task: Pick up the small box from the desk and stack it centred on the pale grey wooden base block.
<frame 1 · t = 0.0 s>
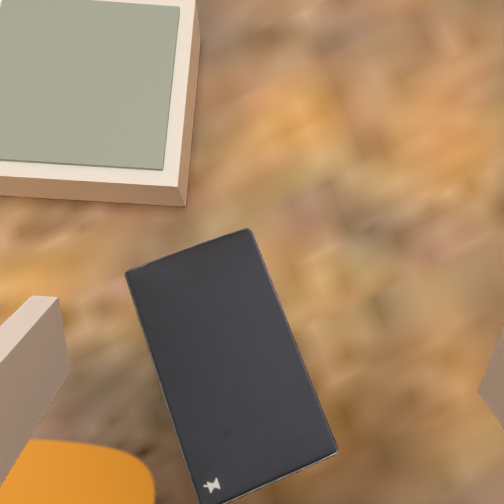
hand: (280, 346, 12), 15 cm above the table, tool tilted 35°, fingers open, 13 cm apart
base: (101, 113, 30), on the table
small box: (232, 350, 27), on the table
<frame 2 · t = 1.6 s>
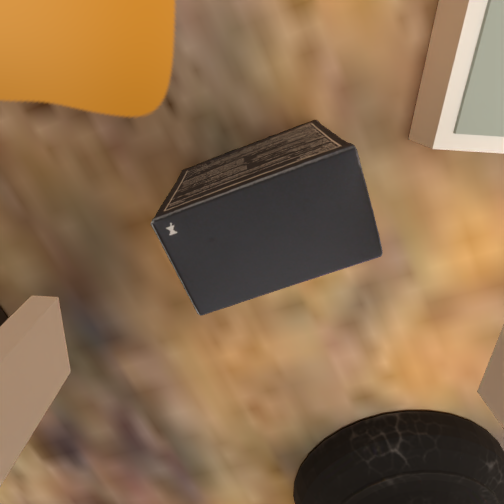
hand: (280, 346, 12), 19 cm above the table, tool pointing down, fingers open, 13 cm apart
small box: (262, 185, 29), on the table
banker's lamp: (397, 485, 43), on the table
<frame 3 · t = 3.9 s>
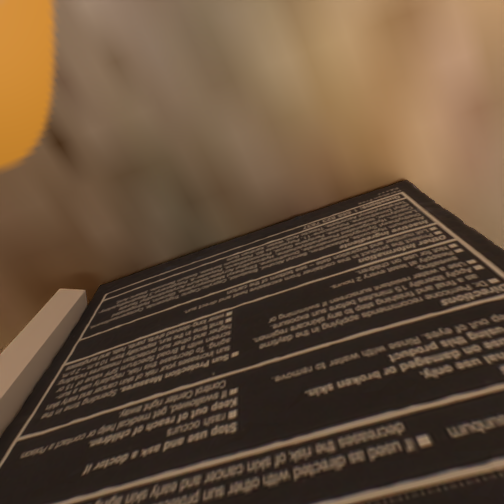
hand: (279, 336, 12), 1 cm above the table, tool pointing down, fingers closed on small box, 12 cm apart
small box: (276, 310, 14), on the table, touching gripper
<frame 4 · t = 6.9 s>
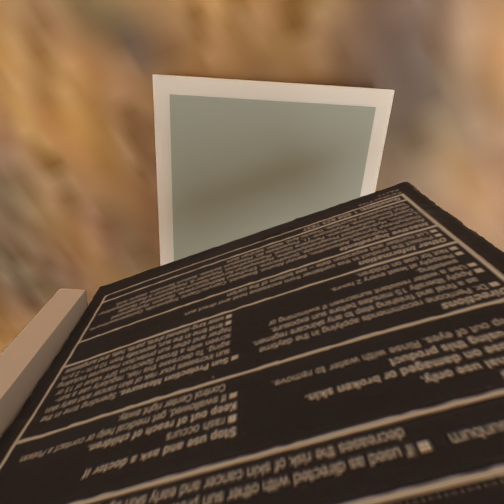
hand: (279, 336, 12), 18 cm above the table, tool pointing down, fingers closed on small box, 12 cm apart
base: (263, 184, 29), on the table
small box: (276, 312, 14), point 17 cm above the table, touching gripper
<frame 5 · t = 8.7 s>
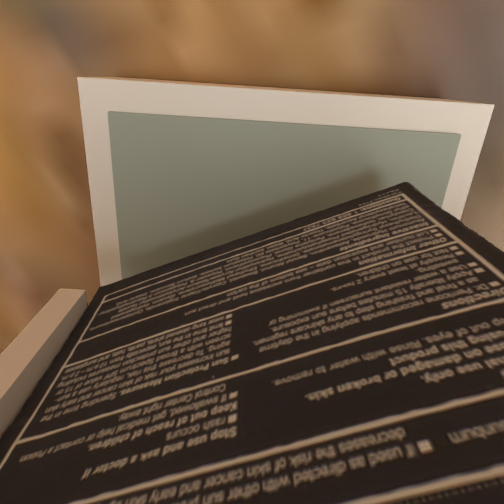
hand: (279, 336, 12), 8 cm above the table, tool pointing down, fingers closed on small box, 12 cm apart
base: (267, 239, 20), on the table
small box: (276, 312, 14), point 7 cm above the table, touching gripper
when the fingers open (7 cm above the table, at t = 10.1 s): small box drops 1 cm, resting on base.
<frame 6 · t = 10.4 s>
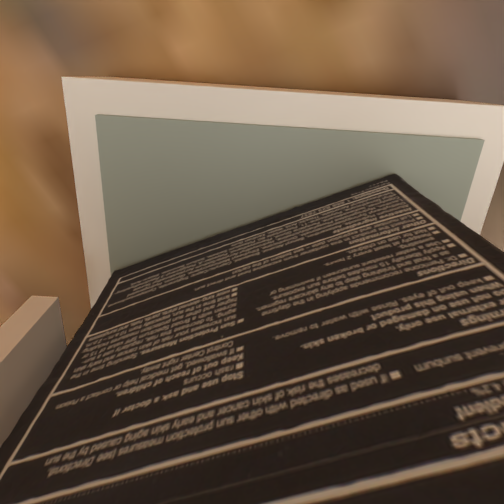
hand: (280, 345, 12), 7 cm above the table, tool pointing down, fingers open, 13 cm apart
base: (270, 249, 18), on the table
small box: (276, 295, 15), point 4 cm above the table, touching base
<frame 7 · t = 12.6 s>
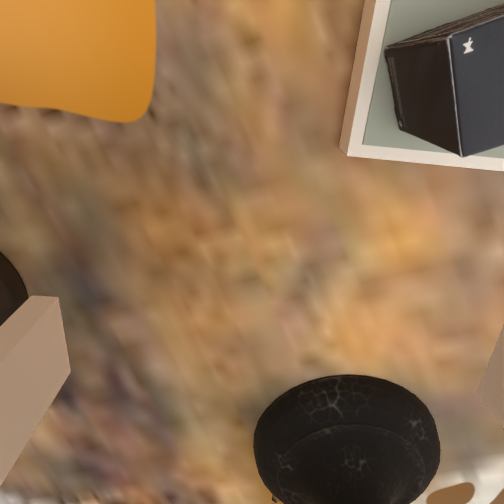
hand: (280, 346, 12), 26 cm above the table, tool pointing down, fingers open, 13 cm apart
base: (440, 68, 32), on the table
small box: (463, 68, 28), point 4 cm above the table, touching base
banker's lamp: (343, 443, 50), on the table
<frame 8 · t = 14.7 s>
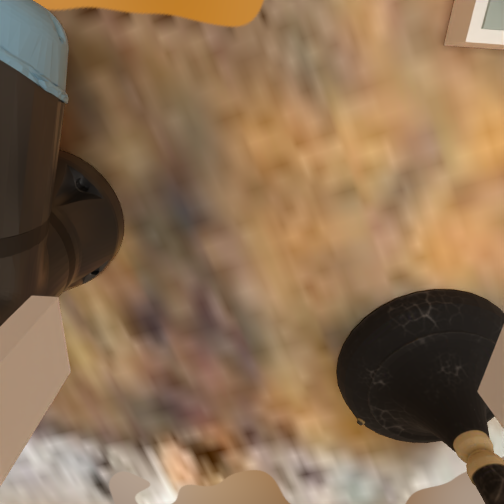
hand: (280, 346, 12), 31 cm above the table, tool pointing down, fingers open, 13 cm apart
banker's lamp: (424, 364, 51), on the table
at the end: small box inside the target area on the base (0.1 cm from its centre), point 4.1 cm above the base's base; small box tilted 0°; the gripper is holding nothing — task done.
